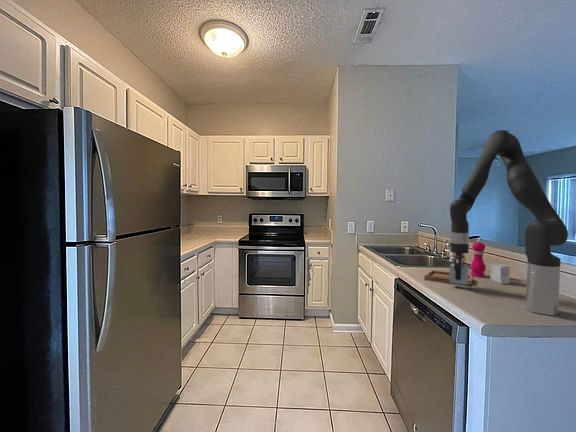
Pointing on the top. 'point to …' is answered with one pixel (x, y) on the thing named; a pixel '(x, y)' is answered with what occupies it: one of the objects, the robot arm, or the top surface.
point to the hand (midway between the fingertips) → (458, 278)
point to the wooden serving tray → (444, 277)
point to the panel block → (463, 275)
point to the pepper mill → (478, 260)
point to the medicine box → (500, 273)
